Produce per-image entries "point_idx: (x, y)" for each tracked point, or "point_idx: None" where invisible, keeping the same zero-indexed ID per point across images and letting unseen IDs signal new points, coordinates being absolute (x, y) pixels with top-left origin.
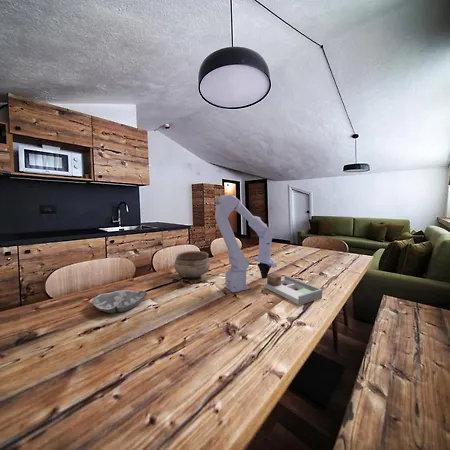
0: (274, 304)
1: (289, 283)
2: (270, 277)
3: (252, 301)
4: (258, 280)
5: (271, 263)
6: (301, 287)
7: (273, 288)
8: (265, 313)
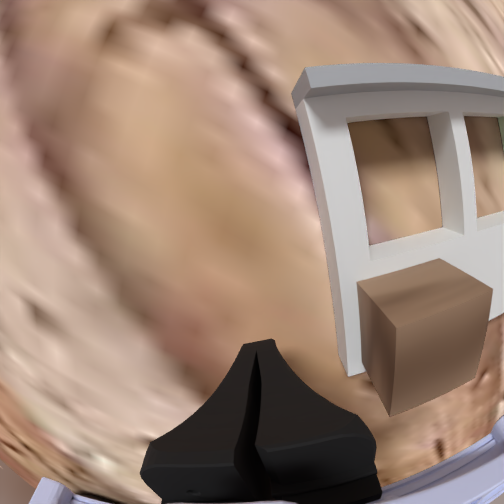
0: (497, 367)
1: (392, 115)
2: (431, 392)
3: (431, 437)
4: (171, 336)
5: (492, 498)
6: (495, 114)
7: None
8: (499, 405)
